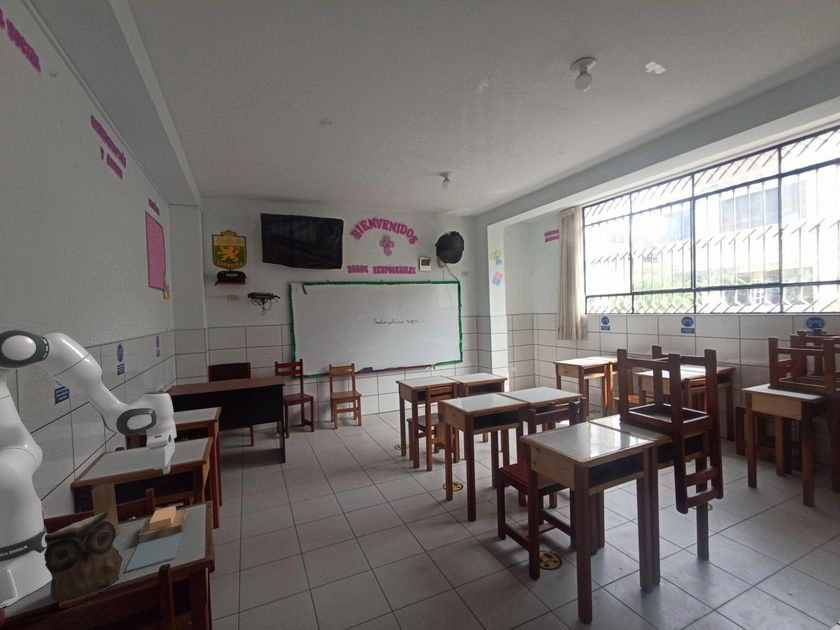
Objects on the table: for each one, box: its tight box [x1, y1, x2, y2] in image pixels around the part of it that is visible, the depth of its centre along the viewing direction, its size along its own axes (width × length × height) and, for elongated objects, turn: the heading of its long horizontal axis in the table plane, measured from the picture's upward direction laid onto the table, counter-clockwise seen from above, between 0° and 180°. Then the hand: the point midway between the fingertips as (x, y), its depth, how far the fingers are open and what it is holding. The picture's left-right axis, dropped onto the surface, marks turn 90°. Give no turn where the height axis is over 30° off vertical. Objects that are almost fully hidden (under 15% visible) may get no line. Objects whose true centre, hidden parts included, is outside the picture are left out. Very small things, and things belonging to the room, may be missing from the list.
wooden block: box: [91, 482, 120, 536], centre depth 131 cm, size 9×4×18 cm, turn 100°
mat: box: [124, 532, 183, 574], centre depth 122 cm, size 12×15×1 cm
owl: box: [44, 512, 124, 604], centre depth 105 cm, size 13×13×20 cm
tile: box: [149, 505, 177, 531], centre depth 134 cm, size 6×9×2 cm, turn 23°
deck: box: [137, 508, 188, 544], centre depth 134 cm, size 12×12×3 cm
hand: (166, 472), depth 144 cm, fingers closed
